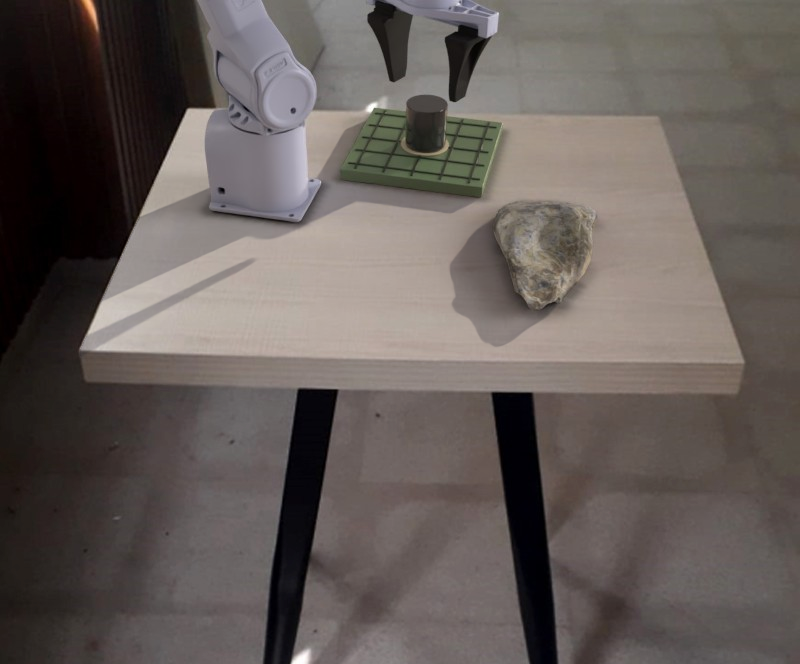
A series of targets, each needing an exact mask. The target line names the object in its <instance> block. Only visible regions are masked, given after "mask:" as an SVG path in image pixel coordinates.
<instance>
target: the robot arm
mask: <svg viewBox="0 0 800 664" xmlns="http://www.w3.org/2000/svg"><path fill="white" fill-rule="evenodd" d="M196 2H197V3H198V6H199V7H200V9H201V12H202V14H203V16H204V18H205V20H206V22H207V24H208V27H209V28H210V29H209V31H208V33H207V35H206V39H207V41H208V43H209V45H210V48H211V51H212V56H213V74H214V77H215V80H216V82H217V84H218V86H219V87H220V88H222V90H223V91H224V92H225V93H227V94H228V95H227V96H228V107H227V108H216V109H214V110H212V112H211V114H210V116H209V118H208V120H207V123H206V126H205V132H204V133H205V134H204V155H205V162H206V171H207V177H208V186H209V193H210V202H209V204H208V209H209V210H210V211H212V212H220V213H226V214H227V213H228V214H235V215H241V216H250V217H256V218H262V219H263V218H264V219H271V220H277V221H284V222H293V223H298V222H301V221H302V219H303V218H304V216H305V214H306V213H307V211H308V209H309V207H310V205H311V203H312V202H313V200H314V198H315V197H316V195H317V193H318V191H319V189H320V187H321V186H322V181H321V179H319V178H312V177H309V169H308V168H309V167H308V149H307V130H306V129H307V127H306V120H307V118H308V117H309V116H310V115H311V113H312V111H313V109H314V107H315V104H316V101H317V95H318V94H317V93H318V91H317V83H316V80H315V78H314V76H313V74H312V72H311V71H310V70H309V69H308V67H306V66H304V65H303V64H302V63H300V62H299V61H298V59H297V58H296V57H295V56H294V53H293V51H292V49H291V46H290V44H289V43H288V41H287V40H286V39H285V37H284V36H283V34H282V33H281V32H280V30H279V29H278V28H277V26H276V25H275V23H274V22H273V20H272V19H271V17H270V16H269V14H268V12H267V10H266V7H265V4H264V3H263V0H196ZM365 4H366V5H370V6H374V7H373V11H371V12H368V13H367V16H366V18H367V19H366V20H367V21H366V22H367V24H368V25H369V27H370V29H371V30H372V32H373V34H374V36H375V38H376V40H377V42H378V45H379V47H380V51H381V53H382V56H383V60H384V64H385V68H386V73H387V77H388V81H389V82H391V83H396V82H398V81H400V80H402V79H403V78H405V77H406V75H407V69H408V55H409V54H408V52H409V51H408V50H409V39H410V33H411V26H412V23H413V17H414V16H416V17H422V18H425V19H428V20H432V21H436V22H440V23H443V24H446V25H449V26H452V27H456V28H457V30H456V31H454V32H451V33H450V34H447V35H446V36H445V37H444V44H445V49H446V53H447V60H448V70H449V71H448V72H449V73H448V74H449V76H448V100H449V102H452V103H457V102H459V101H461V100H462V99H463V98H465V97H466V95H467V91H468V88H469V85H470V82H471V78H472V76H473V73H474V71H475V68H476V66H477V63H478V61H479V59H480V57H481V55H482V54H483V51H484V50H485V49H486V46H487V45H488V44H489V42H490V40H491V39H492V37H493V36H494V35H495V34H497V33H498V28H499V27H498V26H499V17H500V13H499V12H498V11H495V10H492V9H489V8H487V7H485V6H483V5H481V4H478V3H477V2H475V1H473V0H365Z"/></svg>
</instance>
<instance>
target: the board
mask: <svg viewBox="0 0 800 664" xmlns="http://www.w3.org/2000/svg"><path fill="white" fill-rule="evenodd" d="M503 125H504V123H503V122H500V121H492V120H482V119H475V118H465V117H457V116H449V115H447V130H446V145H445V147H444V148H443V149H442V150H440V151H437V152H433V153H420V152H415V151H413V150H411V149H409V148H408V147H407V146H406V144H405V128H406V110H399V109H390V108H381V107H373V109H372V110H371V112H370V113H369V115H368V118H367V119H366V121H365V123H364V125H363V127H362V129H361V131H360V133H359V134H358V136H357V138H356V139H355V141H354V143H353V145H352V147H351V149H350V151H348V154H347V156H346V158H345V160H344V161H343V163H342V165H341V167H340V169H339V178H340V179H339V180H343V181H351V182H357V183H365V184H373V185H380V186H389V187H396V188H405V189H412V190H420V191H428V192H434V193H442V194H451V195H458V196H464V197H466V196H467V197H471V198H472V197H474V198H483V195H484V191H485V188H486V185H487V182H488V178H489V175H490V172H491V169H492V166H493V162H494V160H495V156H496V153H497V151H498V150H497V149H498V146H499V143H500V140H501V137H502V133H503Z"/></svg>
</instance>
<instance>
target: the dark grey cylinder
mask: <svg viewBox="0 0 800 664" xmlns="http://www.w3.org/2000/svg"><path fill="white" fill-rule="evenodd" d="M448 108H449V103H448V101H447V100H446V99H445V98H443V97H441V96H438V95H435V94H418V95H417V94H416V95H413V96H411V97H409V98H408V99H407V100H406V102H405V111H406V128H405V144H406V146H407V147H408V148H409V149H411V150H413V151H415V152H420V153H433V152H437V151H440V150H442V149H443V148H444V147H445V145H446V130H447V116H448Z"/></svg>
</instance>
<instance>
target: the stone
mask: <svg viewBox="0 0 800 664" xmlns="http://www.w3.org/2000/svg"><path fill="white" fill-rule="evenodd" d="M597 218H598V214H597V213H596V210H595V209H593V208H592V207H590V206H587V205H585V204H583V203H573V202H572V203H571V202H569V201H568V202H567V201H551V200H543V201H542V200H541V201H539V200H516V201H511V202H509V203H507V204H506V205H503V206H502V207H501V208H500V209H499V210H498V211H497V212H496V214H495V218H494V221H493V225H492V232H493V234H494V237H495V239H496V242H497V244H498V245H499V248H500V250H501V253H502V256H504V258H505V259H506V262H507V266H508V269H509V275H510V278H511V281H512V284H513V285H512V286H513V289H514V292H515V293H517V294H519V295H520V297H522V298H523V299H524V301H525V303H526V305H527V307H528V308H529V309H530V310H532V311H540V310H542V309H544V308H545V306H547V305H548V304H552V303H557V304H562V303H563V300H564V299H565V297H566V295H567V294H568V293H569V292H570V291H571V290H572V289H573V288H574V286H575V285H576V284H578V283H579V281H580V280H581V279H582V277H583V276H584V275H585V273H586V271H587V269H588V267H589V265H590V263H591V261H592V255H593V249H594V241H593V233H594V228H595V224H596V221H597Z"/></svg>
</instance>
